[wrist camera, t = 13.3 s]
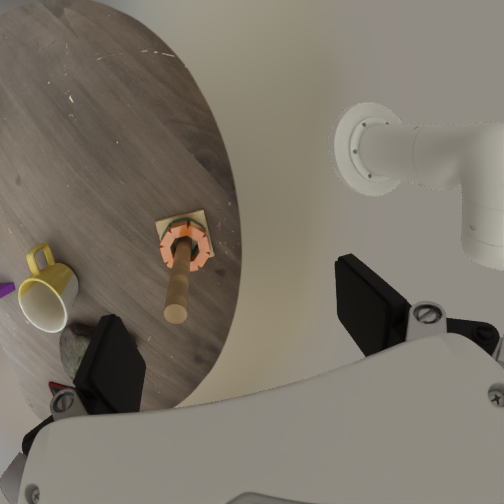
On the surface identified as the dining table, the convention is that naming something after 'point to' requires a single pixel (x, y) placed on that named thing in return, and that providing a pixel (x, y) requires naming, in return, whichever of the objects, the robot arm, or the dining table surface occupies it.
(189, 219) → the green ring
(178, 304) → the post
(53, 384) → the cell phone
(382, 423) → the robot arm
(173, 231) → the orange ring
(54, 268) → the mug
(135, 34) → the dining table surface
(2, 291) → the purple flat block
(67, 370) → the stone
